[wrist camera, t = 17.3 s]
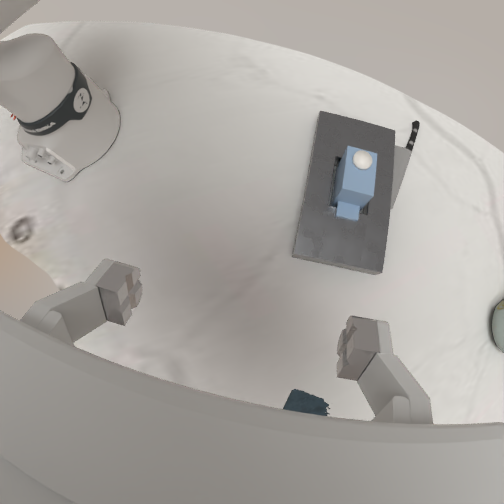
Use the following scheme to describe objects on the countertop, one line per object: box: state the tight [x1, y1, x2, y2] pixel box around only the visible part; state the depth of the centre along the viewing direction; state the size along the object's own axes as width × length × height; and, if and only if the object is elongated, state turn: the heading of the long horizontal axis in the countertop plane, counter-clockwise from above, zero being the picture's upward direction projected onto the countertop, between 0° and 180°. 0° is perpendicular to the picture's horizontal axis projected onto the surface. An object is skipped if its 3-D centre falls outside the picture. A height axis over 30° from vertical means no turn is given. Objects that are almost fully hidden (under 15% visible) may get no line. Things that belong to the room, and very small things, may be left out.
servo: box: [330, 146, 377, 222], centre depth 41 cm, size 4×10×9 cm, turn 167°
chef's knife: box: [390, 121, 419, 209], centre depth 45 cm, size 19×1×3 cm
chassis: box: [292, 111, 395, 275], centre depth 43 cm, size 12×22×3 cm, turn 167°
